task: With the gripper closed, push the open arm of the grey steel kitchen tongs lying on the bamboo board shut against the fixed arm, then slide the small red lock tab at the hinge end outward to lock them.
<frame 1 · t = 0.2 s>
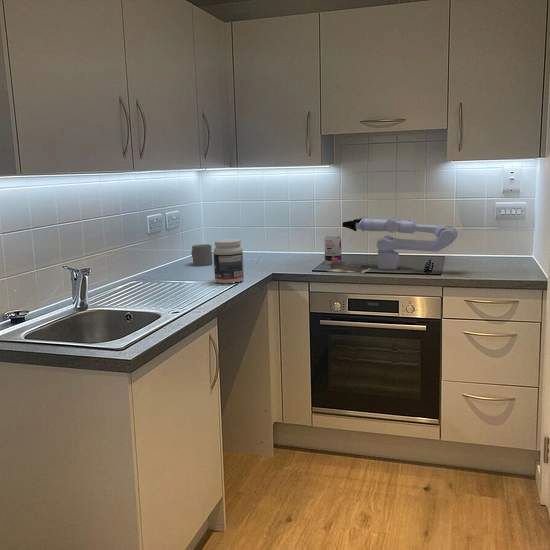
hand: (345, 223, 293), 21 cm above the worktop, tool horizontal, fingers open, 7 cm apart
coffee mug: (201, 264, 324), on the worktop
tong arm: (349, 266, 286), point 3 cm above the worktop, hinge at 20.0°
lock tab: (334, 260, 291), point 5 cm above the worktop, slide at 0.0 cm
supplement tub: (229, 282, 274), on the worktop
tongs body: (340, 268, 290), resting on board
supplement can: (333, 266, 306), on the worktop
board: (348, 272, 287), on the worktop
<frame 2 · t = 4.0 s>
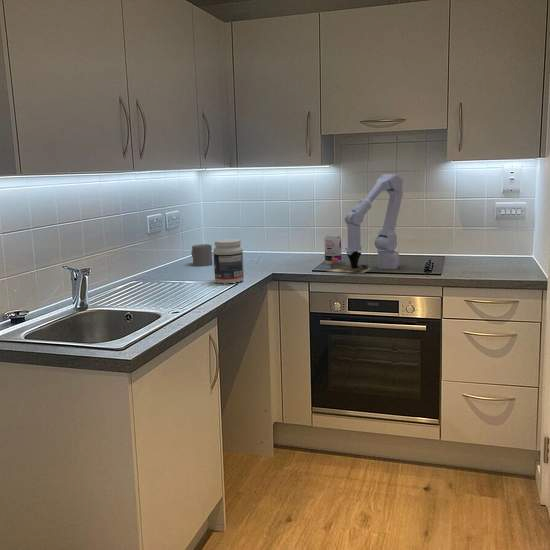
hand: (354, 268, 281), 3 cm above the worktop, tool pointing down, fingers closed
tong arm: (349, 266, 286), point 3 cm above the worktop, hinge at 18.4°, touching gripper
everything else where it was.
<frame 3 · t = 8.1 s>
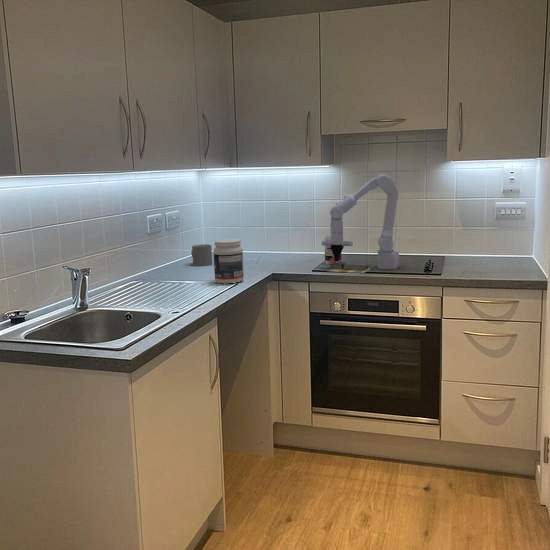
hand: (337, 261, 290), 5 cm above the worktop, tool pointing down, fingers closed
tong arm: (351, 265, 287), point 3 cm above the worktop, hinge at 2.0°
lock tab: (332, 260, 291), point 5 cm above the worktop, slide at 1.0 cm, touching gripper
everything else where it was.
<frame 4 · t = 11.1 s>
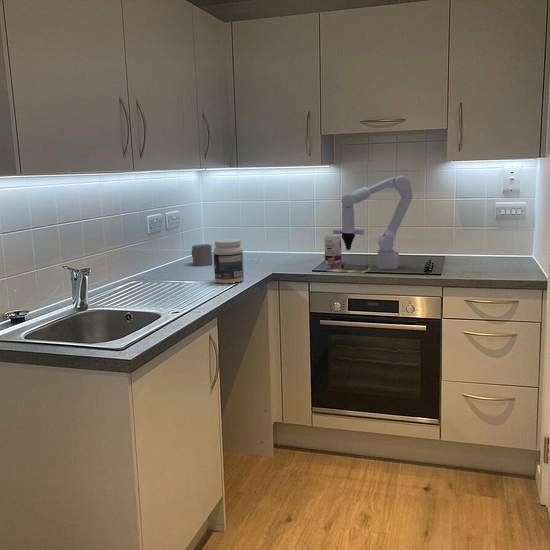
hand: (348, 249, 289), 10 cm above the worktop, tool pointing down, fingers closed
lock tab: (331, 260, 292), point 5 cm above the worktop, slide at 1.8 cm
everything else where it was.
at the end: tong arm at +2° (first picture: +20°); lock tab slide at 1.8 cm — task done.
